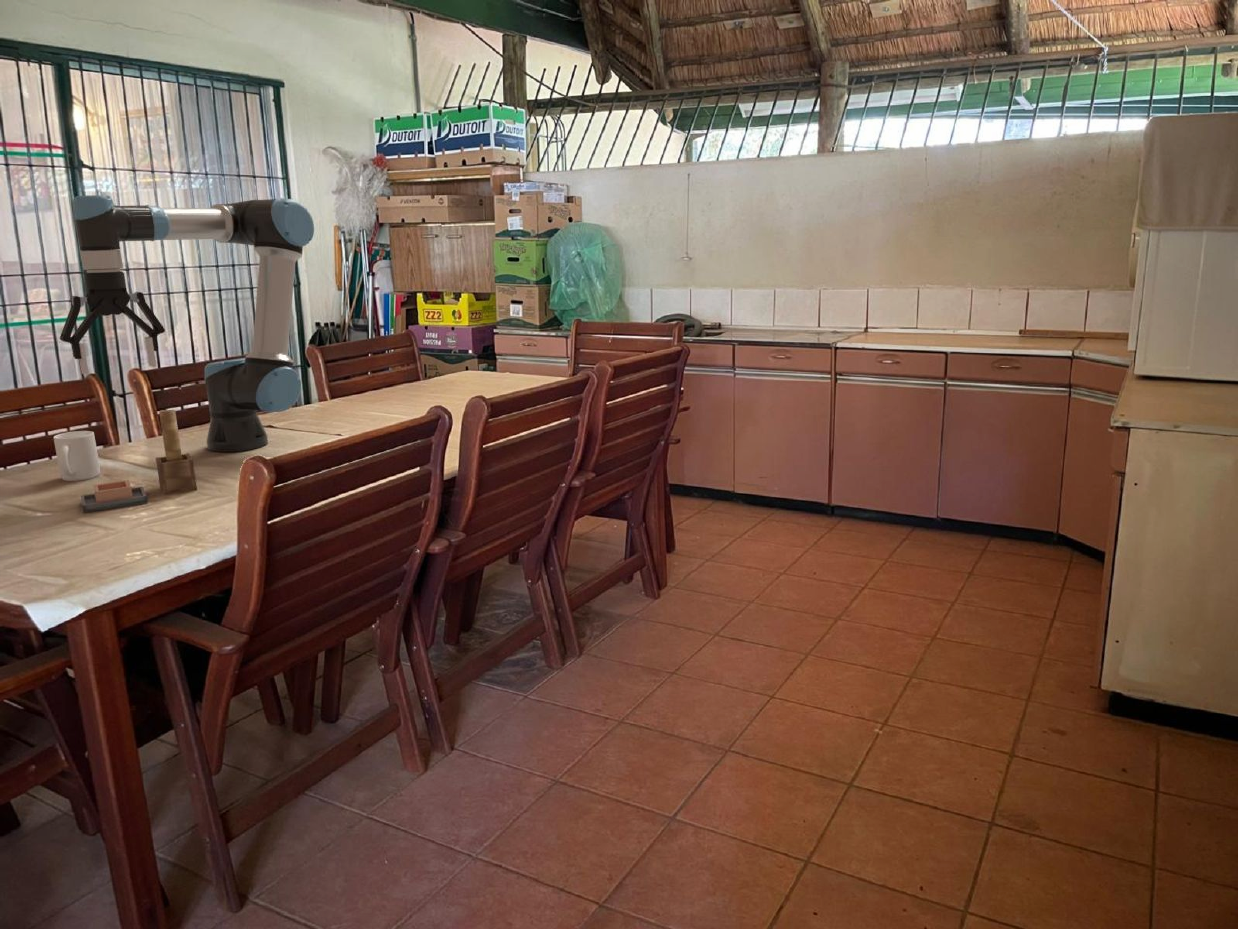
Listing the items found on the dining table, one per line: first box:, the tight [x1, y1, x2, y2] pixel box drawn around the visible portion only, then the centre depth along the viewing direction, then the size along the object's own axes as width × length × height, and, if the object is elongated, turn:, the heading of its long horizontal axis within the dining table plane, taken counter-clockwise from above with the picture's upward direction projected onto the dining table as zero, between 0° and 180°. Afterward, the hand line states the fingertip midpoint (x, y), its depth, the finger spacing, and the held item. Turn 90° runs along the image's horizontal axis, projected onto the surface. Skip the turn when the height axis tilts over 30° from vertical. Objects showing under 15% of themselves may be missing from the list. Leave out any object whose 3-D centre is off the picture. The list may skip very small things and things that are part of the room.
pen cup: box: [155, 453, 198, 495], centre depth 207 cm, size 7×7×7 cm
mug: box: [53, 430, 101, 482], centre depth 217 cm, size 12×8×10 cm
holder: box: [92, 479, 133, 503], centre depth 197 cm, size 7×7×3 cm
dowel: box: [158, 409, 183, 462], centre depth 205 cm, size 3×3×17 cm
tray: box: [80, 486, 149, 514], centre depth 197 cm, size 12×9×2 cm
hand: (119, 370), depth 202 cm, fingers open, 13 cm apart
